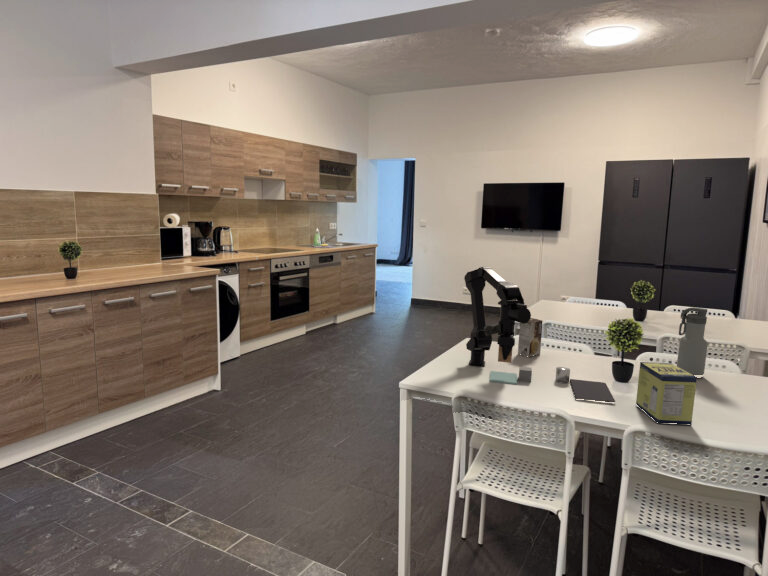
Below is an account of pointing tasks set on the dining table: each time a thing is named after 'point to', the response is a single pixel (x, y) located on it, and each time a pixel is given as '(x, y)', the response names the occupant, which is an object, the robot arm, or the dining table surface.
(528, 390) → the dining table surface
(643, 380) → the protein box
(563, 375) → the grey metal cylinder
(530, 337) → the coffee box
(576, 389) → the notebook
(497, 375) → the teal mat
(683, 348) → the water bottle
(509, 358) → the walnut block
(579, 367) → the dining table surface
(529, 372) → the dark grey plastic block
